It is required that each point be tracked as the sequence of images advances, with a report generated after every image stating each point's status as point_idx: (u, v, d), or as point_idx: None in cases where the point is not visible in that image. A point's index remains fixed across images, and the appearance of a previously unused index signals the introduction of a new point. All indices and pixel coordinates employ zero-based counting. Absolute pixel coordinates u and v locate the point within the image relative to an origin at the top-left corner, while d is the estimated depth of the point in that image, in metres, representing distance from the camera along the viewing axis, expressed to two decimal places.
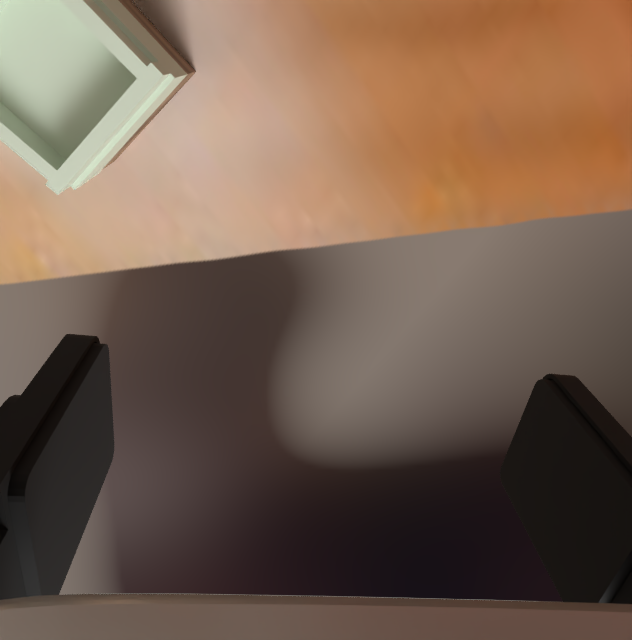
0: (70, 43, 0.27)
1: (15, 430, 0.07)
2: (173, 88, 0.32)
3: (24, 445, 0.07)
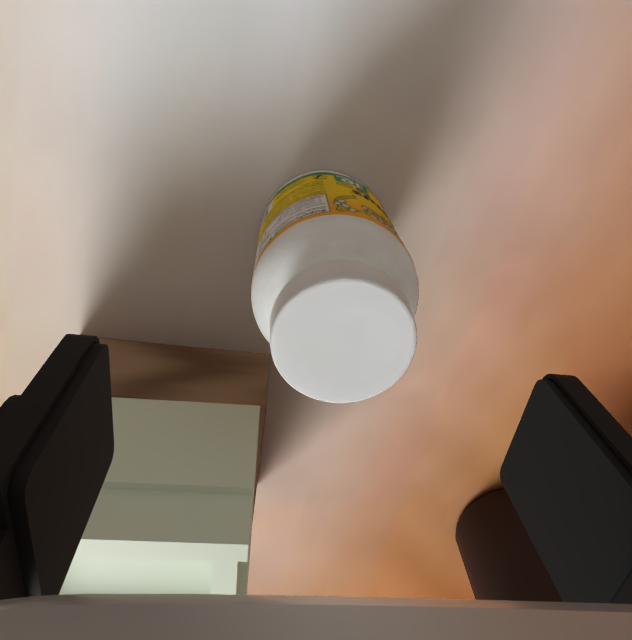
0: (173, 568, 0.19)
1: (15, 430, 0.07)
2: None
3: (24, 445, 0.07)
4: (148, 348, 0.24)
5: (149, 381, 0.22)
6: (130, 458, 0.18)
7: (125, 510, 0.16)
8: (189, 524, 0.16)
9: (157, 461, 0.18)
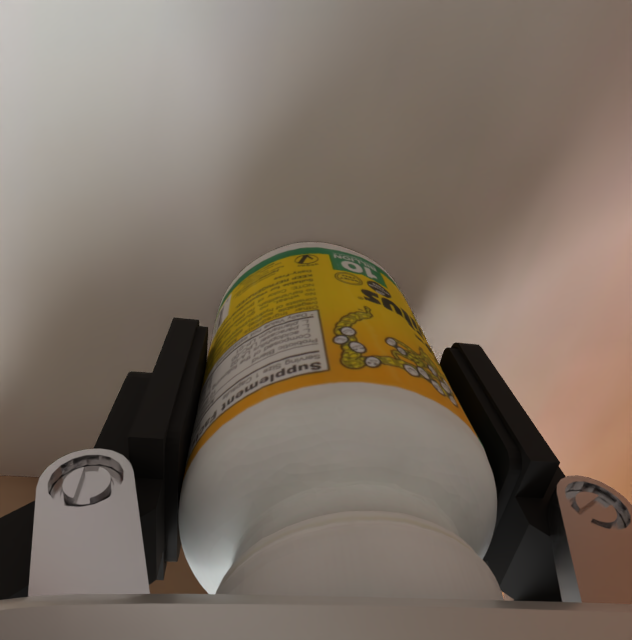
0: None
1: (160, 396, 0.08)
2: None
3: (172, 408, 0.08)
4: None
5: None
6: None
7: None
8: None
9: None
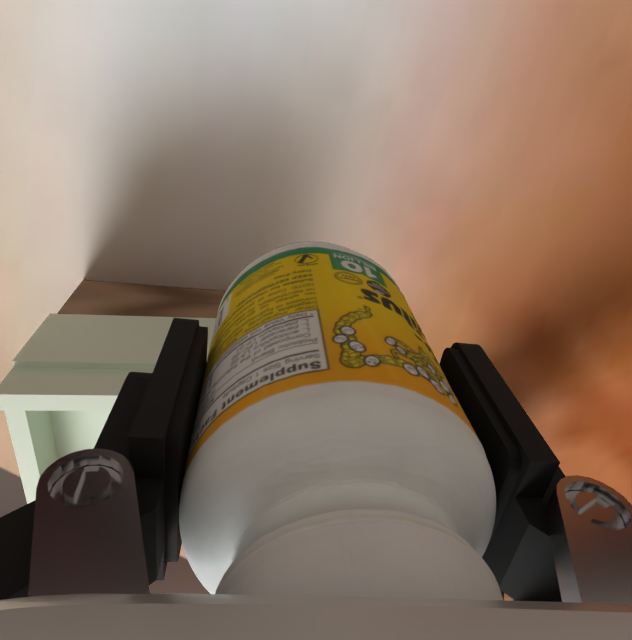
0: None
1: (160, 396, 0.08)
2: None
3: (172, 408, 0.08)
4: (139, 288, 0.30)
5: (143, 308, 0.28)
6: (129, 349, 0.24)
7: None
8: None
9: (150, 351, 0.24)
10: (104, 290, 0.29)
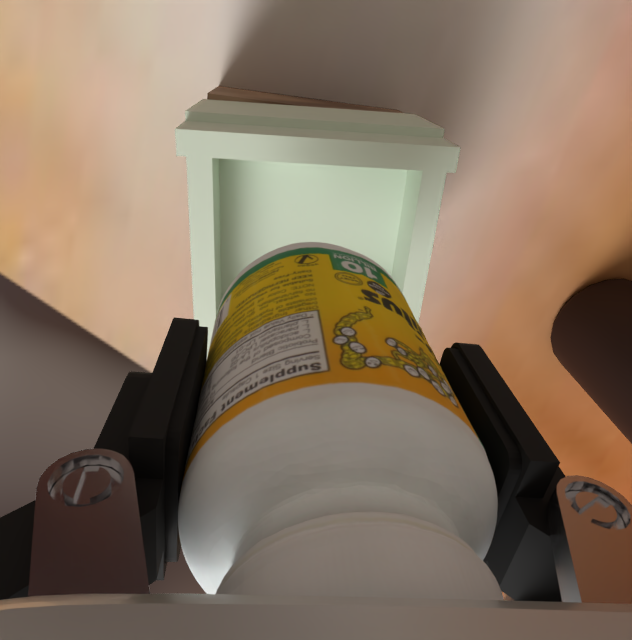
0: (354, 240, 0.20)
1: (160, 396, 0.08)
2: None
3: (172, 408, 0.08)
4: (286, 96, 0.25)
5: (302, 103, 0.22)
6: (319, 116, 0.19)
7: (334, 134, 0.17)
8: (398, 140, 0.17)
9: (345, 118, 0.19)
10: (248, 92, 0.24)
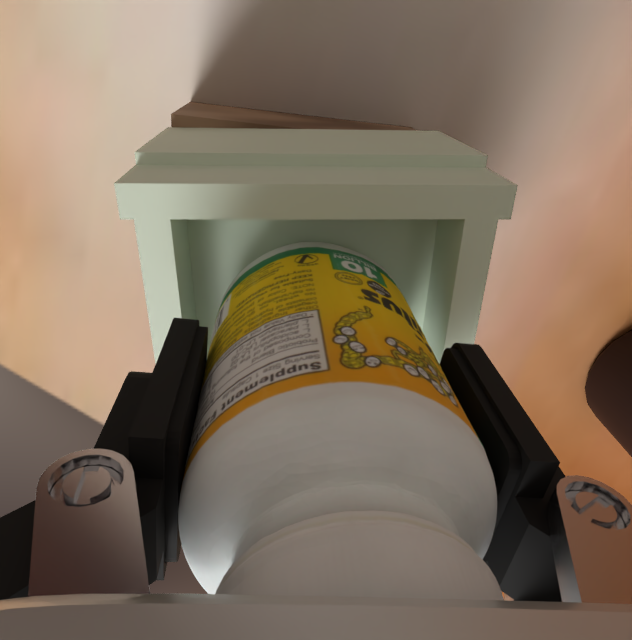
0: None
1: (160, 396, 0.08)
2: None
3: (172, 408, 0.08)
4: (274, 113, 0.20)
5: (293, 123, 0.18)
6: (317, 146, 0.14)
7: (339, 173, 0.12)
8: (428, 178, 0.12)
9: (352, 147, 0.14)
10: (226, 109, 0.19)
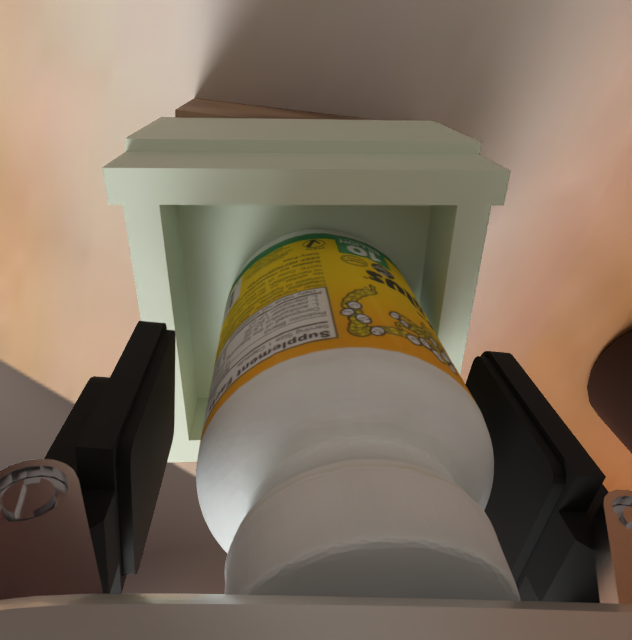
0: None
1: (114, 403, 0.08)
2: None
3: (125, 416, 0.08)
4: (277, 109, 0.20)
5: None
6: (310, 134, 0.14)
7: (330, 159, 0.12)
8: (420, 163, 0.12)
9: (345, 135, 0.14)
10: (230, 106, 0.19)
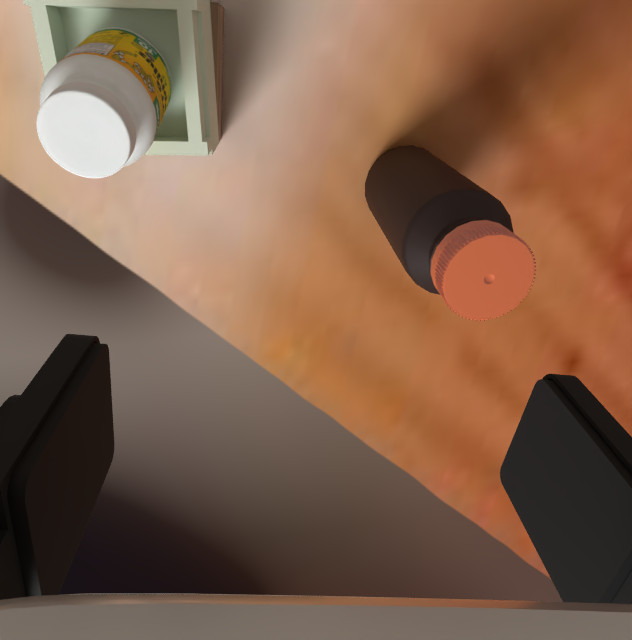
0: None
1: (15, 430, 0.07)
2: None
3: (24, 445, 0.07)
4: None
5: None
6: None
7: None
8: None
9: None
10: None
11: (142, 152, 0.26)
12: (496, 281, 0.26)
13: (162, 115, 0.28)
